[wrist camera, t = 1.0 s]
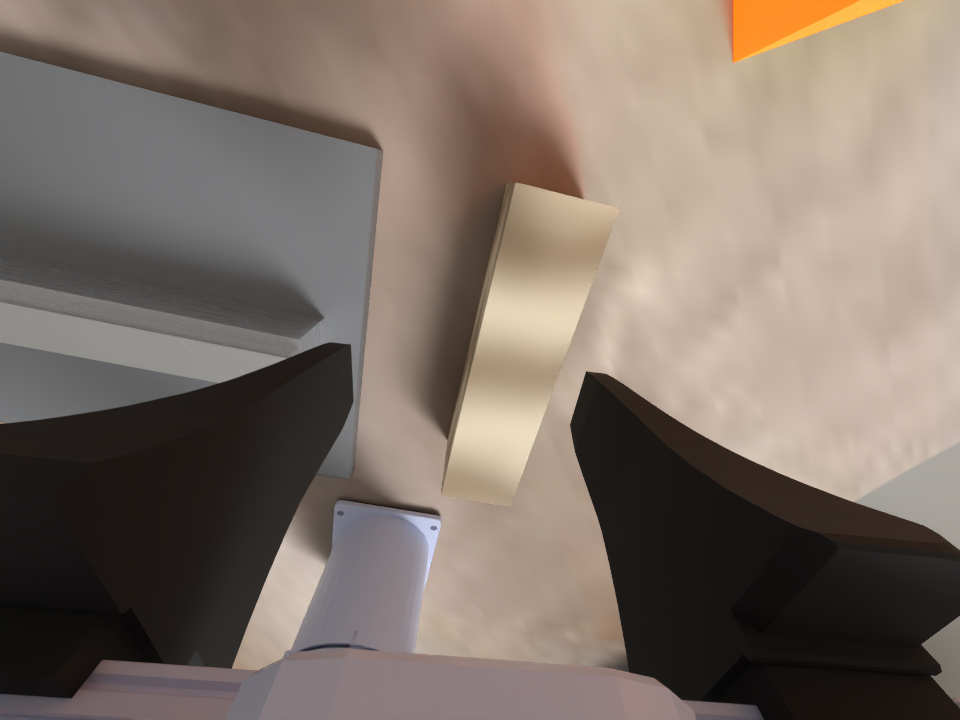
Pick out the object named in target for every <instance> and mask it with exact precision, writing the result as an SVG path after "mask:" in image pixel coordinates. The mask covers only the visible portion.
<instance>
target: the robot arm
mask: <svg viewBox="0 0 960 720" xmlns="http://www.w3.org/2000/svg"><path fill="white" fill-rule="evenodd" d="M353 402H354V396H353V375H352V354H351V344H342V343H333V342H329V343H325V344H322V345H319V346H317V347H314V348H312V349H309V350H307V351H304V352H302V353H299V354H297V355H294V356H292V357H289V358H287V359H285V360H282V361H280V362H277V363H275V364H272V365H270V366H267V367H264V368H261V369H259V370H256V371H253V372H251V373H248V374H245V375H242V376H240V377H237V378H234V379H231V380H228V381H225V382H221V383H218V384H215V385H211V386H208V387H204V388H201V389H197V390H194V391H190V392H186V393H182V394H178V395H173V396H169V397H165V398H160V399H156V400H151V401H147V402H142V403H138V404H133V405H128V406H123V407H117V408H112V409H106V410H100V411H95V412H88V413H82V414H75V415H69V416H62V417H55V418H48V419H41V420H32V421H23V422H14V423H6V424H0V720H960V697H957V698H953V699H951V698H950V697H949V696H948V695H947V694H946V693H945V692H944V690H943V689H942V688H941V687H940V686H939V685H938V684H937V683H936V682H935V680H934V679H933V678H932V677H931V676H930V675H933V676H936V675H938V674H939V673H941V672H942V671H941V667H940V664H939V663H938V662H937V661H936V660H935V659H934V658H933V657H932V656H931V655H930V654H929V653H928V652H927V651H926V650H925V649H924V647H923V646H922V645H921V644H922V643H923V642H925V641H926V640H927V639H929V638H930V637H932V636H933V635H934V634H936V633H937V632H938V631H940V630H941V629H942V628H944V627H945V626H946V625H948V624H949V623H950V622H952V621H953V620H954V619H956V618H957V617H958V616H960V550H959V549H957V548H956V547H955V546H953V545H952V544H951V543H950V542H948V541H947V540H946V539H944V538H943V537H942V536H941V535H939V534H938V533H936V532H934V531H932V530H931V529H929V528H927V527H925V526H923V525H920V524H917V523H914V522H911V521H908V520H905V519H902V518H899V517H896V516H893V515H890V514H887V513H884V512H881V511H878V510H875V509H872V508H869V507H866V506H863V505H860V504H857V503H854V502H851V501H848V500H846V499H843V498H840V497H838V496H835V495H832V494H830V493H827V492H824V491H822V490H819V489H817V488H814V487H811V486H809V485H806V484H804V483H801V482H799V481H796V480H794V479H792V478H789V477H787V476H784V475H782V474H780V473H777V472H775V471H773V470H771V469H768V468H766V467H764V466H762V465H760V464H757V463H755V462H753V461H751V460H749V459H746V458H744V457H742V456H740V455H738V454H736V453H734V452H732V451H730V450H728V449H726V448H724V447H723V446H721V445H719V444H717V443H715V442H713V441H711V440H709V439H708V438H706V437H704V436H702V435H700V434H699V433H697V432H695V431H693V430H692V429H690V428H689V427H687V426H685V425H684V424H682V423H680V422H679V421H677V420H676V419H674V418H672V417H671V416H669V415H668V414H666V413H665V412H663V411H662V410H660V409H659V408H657V407H656V406H654V405H653V404H651V403H650V402H648V401H647V400H645V399H644V398H643V397H641V396H640V395H638V394H637V393H635V392H634V391H632V390H631V389H629V388H628V387H627V386H625V385H624V384H622V383H621V382H619V381H618V380H616V379H614V378H613V377H611V376H609V375H607V374H603V373H594V372H586V374H585V377H584V380H583V384H582V387H581V390H580V394H579V397H578V400H577V404H576V407H575V410H574V414H573V417H572V420H571V424H570V427H571V433H572V438H573V444H574V449H575V453H576V456H577V459H578V462H579V465H580V468H581V471H582V474H583V477H584V480H585V483H586V485H587V488H588V491H589V494H590V497H591V500H592V503H593V506H594V508H595V511H596V514H597V517H598V520H599V524H600V527H601V530H602V534H603V539H604V543H605V547H606V551H607V556H608V560H609V564H610V569H611V574H612V579H613V584H614V588H615V593H616V598H617V603H618V608H619V614H620V620H621V625H622V631H623V637H624V642H625V648H626V654H627V660H628V667H629V672H624V671H620V670H616V669H611V668H604V667H590V666H577V665H563V664H549V663H536V662H522V661H509V660H495V659H481V658H468V657H454V656H440V655H427V654H414V652H415V645H416V638H417V631H418V624H419V617H420V610H421V603H422V596H423V591H424V588H425V585H426V581H427V577H428V573H429V569H430V565H431V562H432V558H433V554H434V550H435V546H436V542H437V539H438V535H439V531H440V527H441V522H442V519H441V517H439V516H437V515H432V514H426V513H419V512H413V511H407V510H401V509H394V508H388V507H382V506H376V505H370V504H363V503H357V502H351V501H345V500H339V501H337V502H336V504H335V507H334V519H333V535H332V551H331V554H330V556H329V559H328V561H327V563H326V566H325V568H324V571H323V573H322V576H321V578H320V580H319V583H318V585H317V588H316V590H315V593H314V595H313V598H312V600H311V602H310V605H309V607H308V610H307V612H306V615H305V617H304V619H303V622H302V624H301V627H300V629H299V632H298V634H297V637H296V639H295V641H294V644H293V646H292V649H291V651H289V650H288V651H286V652H285V654H284V657H283V659H281V660H279V661H276V662H274V663H272V664H270V665H268V666H266V667H264V668H262V669H260V670H259V671H257V670H242V669H232V666H233V663H234V661H235V658H236V655H237V652H238V650H239V647H240V644H241V642H242V639H243V636H244V634H245V631H246V628H247V626H248V623H249V620H250V618H251V615H252V613H253V610H254V608H255V605H256V603H257V601H258V598H259V596H260V593H261V591H262V588H263V586H264V583H265V581H266V578H267V576H268V573H269V571H270V569H271V566H272V564H273V562H274V559H275V557H276V555H277V552H278V550H279V548H280V545H281V543H282V541H283V538H284V536H285V534H286V532H287V529H288V527H289V525H290V523H291V521H292V519H293V516H294V514H295V512H296V510H297V508H298V505H299V503H300V501H301V500H302V498H303V496H304V494H305V492H306V490H307V488H308V487H309V485H310V483H311V482H312V480H313V478H314V477H315V475H316V473H317V472H318V470H319V468H320V467H321V465H322V463H323V462H324V460H325V458H326V457H327V455H328V453H329V451H330V450H331V448H332V446H333V445H334V443H335V441H336V440H337V438H338V436H339V434H340V433H341V431H342V429H343V427H344V425H345V422H346V420H347V418H348V415H349V412H350V410H351V407H352V405H353Z"/></svg>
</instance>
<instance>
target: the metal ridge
mask: <svg viewBox="0 0 960 720" xmlns="http://www.w3.org/2000/svg"><path fill="white" fill-rule="evenodd" d="M324 323H325V318H322V317H318V316H313V315H308V314H303V313H299V312H294V311H289V310H284V309H279V308H275V307H270V306H265V305H260V304H255V303H251V302H246V301H241V300H236V299H232V298H227V297H222V296H217V295H212V294H208V293H203V292H198V291H193V290H188V289H184V288H179V287H174V286H169V285H165V284H160V283H155V282H150V281H145V280H141V279H136V278H131V277H126V276H122V275H117V274H112V273H107V272H102V271H98V270H93V269H88V268H83V267H78V266H74V265H69V264H64V263H59V262H55V261H50V260H45V259H40V258H35V257H31V256H26V255H21V254H16V253H12V252H7V251H2V250H0V342H1V343H6V344H12V345H17V346H22V347H28V348H33V349H39V350H44V351H49V352H55V353H60V354H65V355H71V356H76V357H82V358H87V359H92V360H98V361H103V362H108V363H114V364H119V365H124V366H130V367H135V368H141V369H146V370H151V371H157V372H162V373H167V374H173V375H178V376H184V377H189V378H194V379H200V380H205V381H210V382H216V383H221V382H225V381H228V380H231V379H234V378H237V377H240V376H242V375H245V374H248V373H251V372H253V371H256V370H259V369H261V368H264V367H267V366H270V365H272V364H275V363H277V362H280V361H282V360H285V359H287V358H289V357H292V356H294V355H297V354H299V353H302V352H304V351H307V350H309V349H312V348H314V347H317V346H319V345H322V344H324Z"/></svg>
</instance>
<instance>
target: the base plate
mask: <svg viewBox="0 0 960 720" xmlns="http://www.w3.org/2000/svg"><path fill="white" fill-rule="evenodd" d="M382 155H383V151H382V150H379V149H376V148H372V147H368V146H364V145H360V144H356V143H353V142H349V141H345V140H341V139H337V138H333V137H329V136H325V135H322V134H318V133H314V132H310V131H306V130H302V129H298V128H294V127H291V126H287V125H283V124H279V123H275V122H271V121H267V120H264V119H260V118H256V117H252V116H248V115H244V114H240V113H236V112H233V111H229V110H225V109H221V108H217V107H213V106H209V105H205V104H202V103H198V102H194V101H190V100H186V99H182V98H178V97H174V96H171V95H167V94H163V93H159V92H155V91H151V90H147V89H143V88H140V87H136V86H132V85H128V84H124V83H120V82H116V81H112V80H109V79H105V78H101V77H97V76H93V75H89V74H85V73H82V72H78V71H74V70H70V69H66V68H62V67H58V66H54V65H51V64H47V63H43V62H39V61H35V60H31V59H27V58H23V57H20V56H16V55H12V54H8V53H4V52H0V250H2V251H7V252H12V253H16V254H21V255H26V256H31V257H35V258H40V259H45V260H50V261H55V262H59V263H64V264H69V265H74V266H78V267H83V268H88V269H93V270H98V271H102V272H107V273H112V274H117V275H122V276H126V277H131V278H136V279H141V280H145V281H150V282H155V283H160V284H165V285H169V286H174V287H179V288H184V289H188V290H193V291H198V292H203V293H208V294H212V295H217V296H222V297H227V298H232V299H236V300H241V301H246V302H251V303H255V304H260V305H265V306H270V307H275V308H279V309H284V310H289V311H294V312H299V313H303V314H308V315H313V316H318V317H322V318H325V323H324V344H325V343H329V342H333V343H342V344H351V354H352V375H353V396H354V402H353V405H352V407H351V410H350V412H349V415H348V418H347V420H346V422H345V425H344V427H343V429H342V431H341V433H340V434H339V436H338V438H337V440H336V441H335V443H334V445H333V446H332V448H331V450H330V451H329V453H328V455H327V457H326V458H325V460H324V462H323V463H322V465H321V467H320V468H319V470H318V472H317V473H316V474H319V475H325V476H331V477H337V478H343V479H349V478H350V476H351V474H352V472H353V469H354V460H355V449H356V438H357V427H358V416H359V405H360V394H361V383H362V373H363V362H364V351H365V340H366V329H367V318H368V307H369V296H370V286H371V275H372V264H373V253H374V242H375V231H376V220H377V210H378V199H379V188H380V177H381V166H382ZM215 384H218V383H216V382H210V381H205V380H200V379H194V378H189V377H184V376H178V375H173V374H167V373H162V372H157V371H151V370H146V369H141V368H135V367H130V366H124V365H119V364H114V363H108V362H103V361H98V360H92V359H87V358H82V357H76V356H71V355H65V354H60V353H55V352H49V351H44V350H39V349H33V348H28V347H22V346H17V345H12V344H6V343H1V342H0V421H1V422H7V423H14V422H23V421H32V420H41V419H48V418H55V417H62V416H69V415H75V414H82V413H88V412H95V411H100V410H106V409H112V408H117V407H123V406H128V405H133V404H138V403H142V402H147V401H151V400H156V399H160V398H165V397H169V396H173V395H178V394H182V393H186V392H190V391H194V390H197V389H201V388H204V387H208V386H211V385H215Z"/></svg>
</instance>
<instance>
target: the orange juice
mask: <svg viewBox="0 0 960 720" xmlns="http://www.w3.org/2000/svg"><path fill="white" fill-rule="evenodd" d="M901 1H904V0H733V63H734V62H737V61H740V60H742V59H745V58H748V57H751V56H753V55H756V54H759V53H762V52H764V51H767V50H770V49H773V48H775V47H778V46H781V45H783V44H786V43H789V42H792V41H794V40H797V39H800V38H803V37H805V36H808V35H811V34H814V33H816V32H819V31H822V30H825V29H827V28H830V27H833V26H835V25H838V24H841V23H844V22H846V21H849V20H852V19H855V18H857V17H860V16H863V15H866V14H868V13H871V12H874V11H877V10H879V9H882V8H885V7H887V6H890V5H893V4H896V3H898V2H901Z"/></svg>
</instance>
